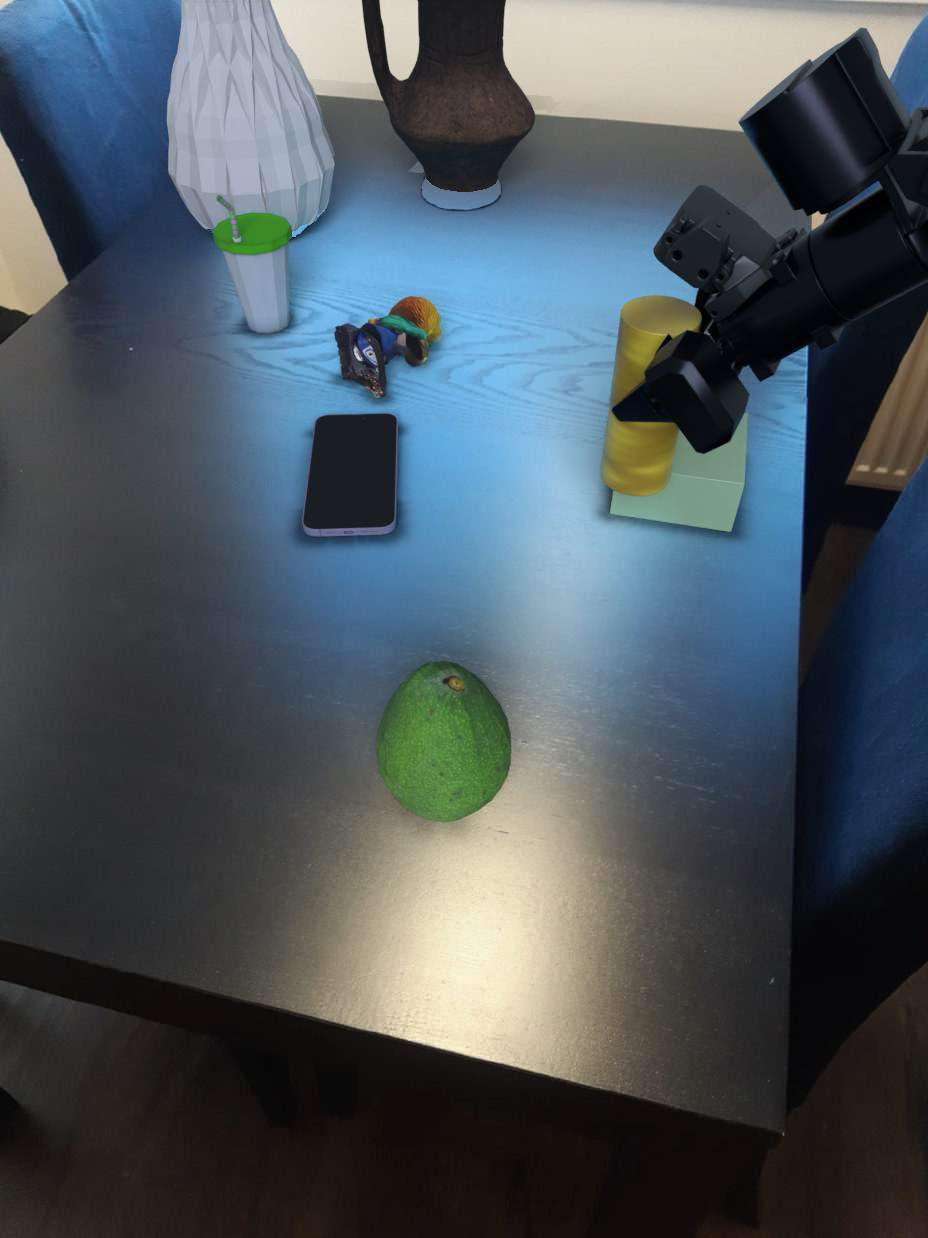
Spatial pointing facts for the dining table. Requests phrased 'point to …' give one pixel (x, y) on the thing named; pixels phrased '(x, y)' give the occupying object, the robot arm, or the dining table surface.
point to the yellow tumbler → (633, 448)
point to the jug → (453, 92)
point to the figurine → (388, 342)
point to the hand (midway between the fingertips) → (629, 394)
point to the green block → (696, 487)
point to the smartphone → (352, 476)
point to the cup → (258, 265)
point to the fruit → (443, 743)
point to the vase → (244, 118)
